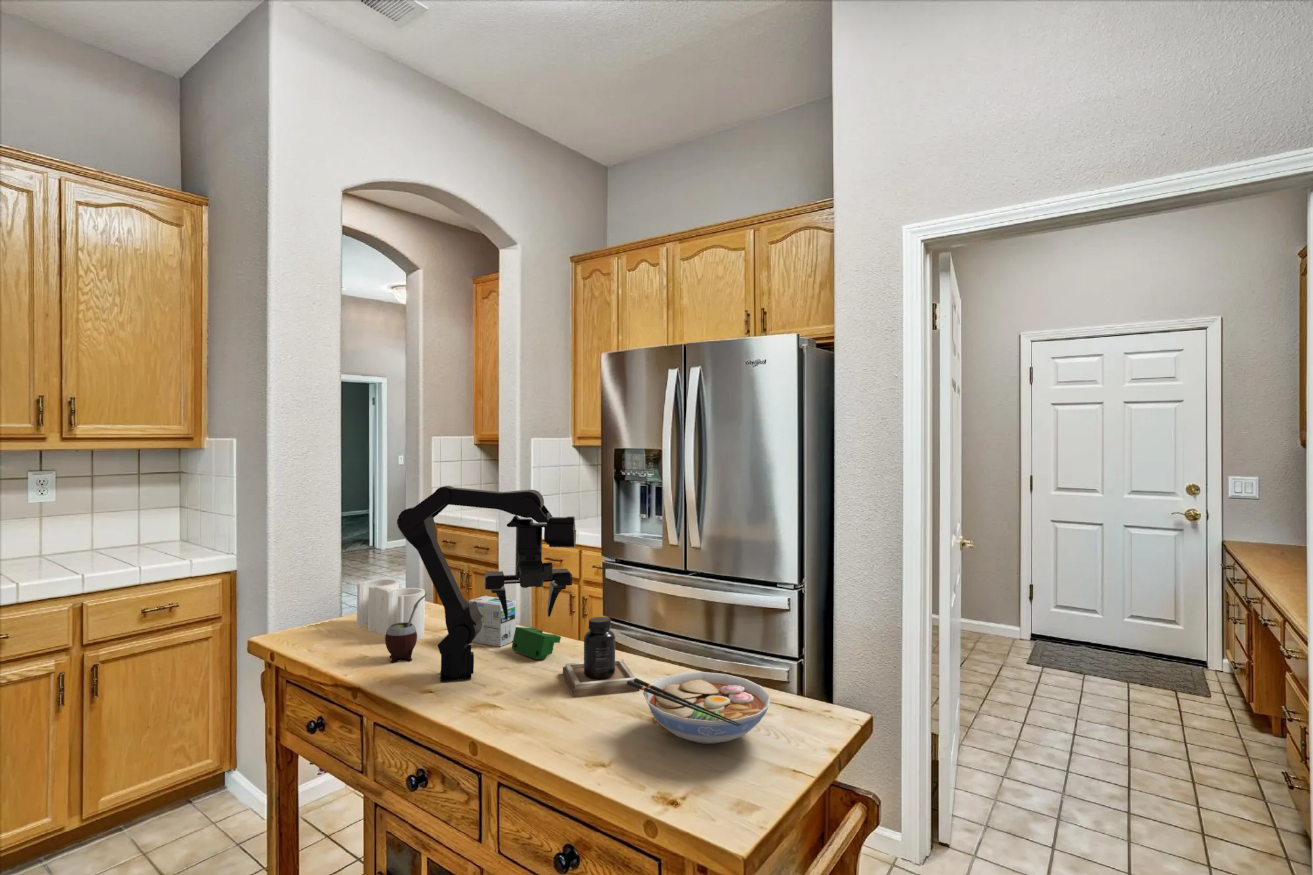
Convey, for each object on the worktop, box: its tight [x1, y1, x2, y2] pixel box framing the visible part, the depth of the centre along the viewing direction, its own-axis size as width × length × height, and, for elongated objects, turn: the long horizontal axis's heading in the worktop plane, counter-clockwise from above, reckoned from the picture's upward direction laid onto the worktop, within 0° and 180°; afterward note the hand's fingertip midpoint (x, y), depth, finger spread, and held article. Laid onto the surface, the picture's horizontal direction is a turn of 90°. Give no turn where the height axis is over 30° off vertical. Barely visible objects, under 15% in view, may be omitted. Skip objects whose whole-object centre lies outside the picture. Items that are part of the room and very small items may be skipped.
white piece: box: [356, 578, 426, 641], centre depth 177 cm, size 25×10×12 cm, turn 48°
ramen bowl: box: [627, 671, 771, 745], centre depth 117 cm, size 25×23×8 cm
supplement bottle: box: [583, 616, 616, 679], centre depth 142 cm, size 7×7×12 cm
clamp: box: [511, 626, 562, 660], centre depth 160 cm, size 12×6×9 cm, turn 42°
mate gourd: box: [384, 593, 428, 664], centre depth 155 cm, size 8×8×15 cm
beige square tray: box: [562, 658, 641, 698], centre depth 142 cm, size 14×14×2 cm
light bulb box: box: [468, 595, 517, 647], centre depth 169 cm, size 11×7×11 cm, turn 65°
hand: (527, 617), depth 144 cm, fingers open, 9 cm apart
